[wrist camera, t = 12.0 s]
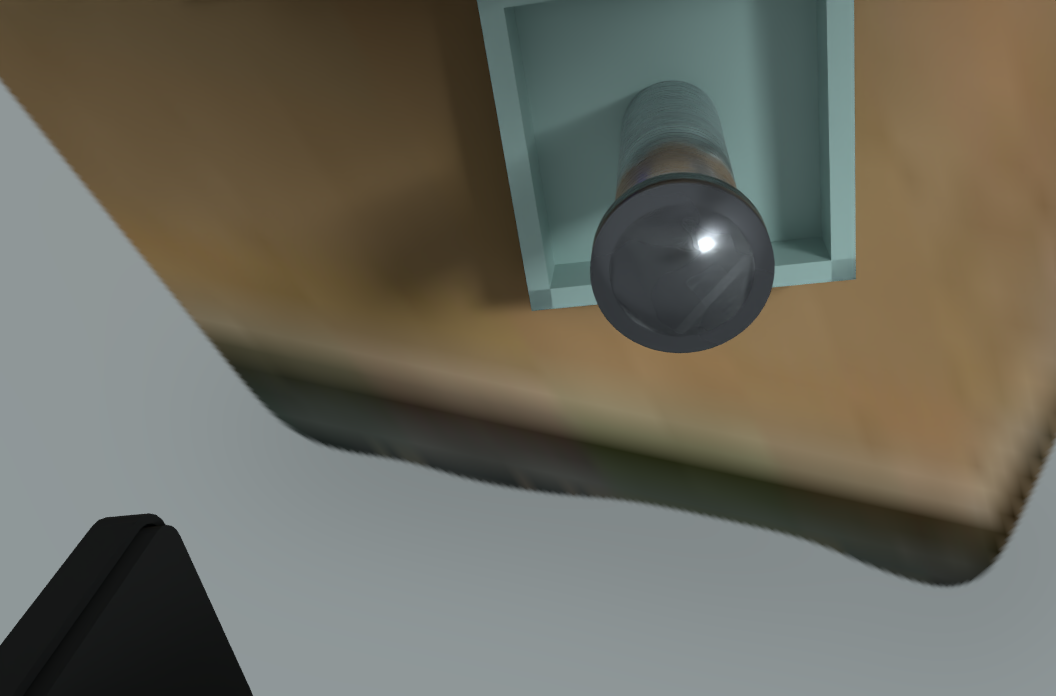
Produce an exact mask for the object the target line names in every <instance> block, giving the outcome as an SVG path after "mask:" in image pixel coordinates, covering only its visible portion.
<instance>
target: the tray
mask: <svg viewBox="0 0 1056 696" xmlns="http://www.w3.org/2000/svg"><path fill="white" fill-rule="evenodd" d="M477 3H478V9H479V15H480V20H481V26H482V32H483V37H484V43H485V49H486V54H487V60H488V66H489V71H490V77H491V83H492V88H493V94H494V100H495V105H496V111H497V117H498V122H499V128H500V134H501V139H502V145H503V151H504V156H505V162H506V168H507V173H508V179H509V185H510V190H511V196H512V202H513V207H514V213H515V219H516V224H517V230H518V236H519V241H520V247H521V253H522V258H523V264H524V270H525V275H526V281H527V287H528V292H529V298H530V304H531V309H532V311H535V310H545V309H555V308H565V307H576V306H586V305H596V304H597V302H596V299H595V297H594V294H593V290H592V286H591V280H590V262H591V254H592V246H593V241H594V237H595V233H596V231H597V228H598V225H599V223H600V221H601V219H602V218H603V216H604V214H605V213H606V211H607V210H608V209H609V207H610V206H611V205H612V204H613V203H614V202H615V196H616V185H617V173H618V162H619V150H620V139H621V127H622V120H623V116H624V114H625V111H626V109H627V107H628V105H629V104H630V102H631V101H632V100H633V99H634V97H635V96H636V95H637V94H638V93H640V92H641V91H642V90H644V89H645V88H647V87H649V86H651V85H653V84H655V83H658V82H663V81H671V80H674V81H683V82H687V83H690V84H692V85H694V86H696V87H698V88H700V89H701V90H702V91H704V92H705V93H706V94H707V95H708V96H709V97H710V99H711V100H712V101H713V103H714V105H715V107H716V109H717V111H718V115H719V118H720V122H721V126H722V130H723V135H724V139H725V143H726V147H727V151H728V155H729V159H730V163H731V167H732V171H733V175H734V179H735V183H736V187H737V189H738V190H739V191H741V192H742V193H743V194H744V195H745V196H746V197H747V198H748V199H749V200H750V201H751V202H752V203H753V204H754V206H755V207H756V208H757V210H758V211H759V213H760V215H761V216H762V218H763V221H764V223H765V225H766V228H767V231H768V234H769V238H770V241H771V245H772V248H773V252H774V260H775V274H774V280H773V285H772V287H780V286H790V285H801V284H811V283H821V282H831V281H842V280H852V279H856V260H855V99H854V0H477Z"/></svg>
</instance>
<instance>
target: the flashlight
mask: <svg viewBox="0 0 1056 696" xmlns="http://www.w3.org/2000/svg"><path fill="white" fill-rule="evenodd" d="M774 274H775V260H774V252H773V248H772V245H771V241H770V238H769V234H768V231H767V228H766V225H765V223H764V221H763V218H762V216H761V215H760V213H759V211H758V210H757V208H756V207H755V206H754V204H753V203H752V202H751V201H750V200H749V199H748V198H747V197H746V196H745V195H744V194H743V193H742V192H741V191H739V190H738V189H737V187H736V183H735V179H734V175H733V171H732V167H731V163H730V159H729V155H728V151H727V147H726V143H725V139H724V135H723V130H722V126H721V122H720V118H719V115H718V111H717V109H716V107H715V105H714V103H713V101H712V100H711V99H710V97H709V96H708V95H707V94H706V93H705V92H704V91H702V90H701V89H700V88H698V87H696V86H694V85H692V84H690V83H687V82H683V81H674V80H671V81H663V82H658V83H655V84H653V85H651V86H649V87H647V88H645V89H644V90H642V91H641V92H640V93H638V94H637V95H636V96H635V97H634V99H633V100H632V101H631V102H630V104H629V105H628V107H627V109H626V111H625V114H624V116H623V120H622V127H621V139H620V150H619V162H618V173H617V185H616V196H615V202H614V203H613V204H612V205H611V206H610V207H609V209H608V210H607V211H606V213H605V214H604V216H603V218H602V219H601V221H600V223H599V225H598V228H597V231H596V233H595V237H594V241H593V246H592V254H591V262H590V280H591V286H592V290H593V294H594V297H595V299H596V302H597V304H598V306H599V308H600V310H601V312H602V313H603V314H604V316H605V317H606V319H607V320H608V321H609V322H610V323H611V324H612V325H613V326H614V328H615V329H617V330H618V331H619V332H620V333H622V334H623V335H624V336H626V337H627V338H629V339H630V340H632V341H634V342H636V343H638V344H640V345H642V346H645V347H648V348H651V349H654V350H658V351H663V352H671V353H690V352H697V351H702V350H706V349H710V348H713V347H715V346H718V345H721V344H723V343H725V342H727V341H729V340H730V339H732V338H734V337H735V336H737V335H738V334H739V333H741V332H742V331H743V330H745V329H746V328H747V327H748V326H749V325H750V324H751V323H752V322H753V321H754V320H755V318H756V317H757V316H758V315H759V313H760V312H761V310H762V309H763V307H764V306H765V303H766V301H767V299H768V297H769V295H770V292H771V289H772V285H773V280H774Z"/></svg>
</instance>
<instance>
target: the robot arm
mask: <svg viewBox="0 0 1056 696" xmlns="http://www.w3.org/2000/svg"><path fill="white" fill-rule="evenodd" d="M0 696H253V695H252V692H251V690H250V688H249V685H248V683H247V681H246V679H245V677H244V675H243V672H242V670H241V668H240V666H239V663H238V661H237V659H236V657H235V655H234V653H233V650H232V648H231V646H230V644H229V642H228V640H227V637H226V635H225V633H224V631H223V628H222V626H221V624H220V622H219V620H218V618H217V615H216V613H215V611H214V609H213V607H212V604H211V602H210V600H209V598H208V596H207V593H206V591H205V589H204V587H203V585H202V583H201V580H200V578H199V576H198V574H197V572H196V569H195V567H194V565H193V563H192V561H191V558H190V556H189V554H188V552H187V550H186V547H185V545H184V543H183V541H182V539H181V536H180V535H179V533H178V531H177V530H176V529H175V528H174V527H172V526H169V525H165V524H164V522H163V520H162V519H161V518H159V517H158V516H157V515H154V514H139V515H128V516H117V517H106V518H104V519H101V520H98V521H97V522H96V523H95V524H94V525H93V526H92V527H91V528H90V530H89V531H88V532H87V534H86V535H85V536H84V538H83V539H82V540H81V541H80V543H79V544H78V545H77V547H76V548H75V549H74V551H73V552H72V553H71V554H70V556H69V557H68V558H67V560H66V561H65V562H64V564H63V565H62V566H61V568H60V569H59V570H58V571H57V573H56V574H55V575H54V577H53V578H52V579H51V580H50V582H49V583H48V584H47V585H46V587H45V588H44V589H43V591H42V592H41V593H40V595H39V596H38V597H37V599H36V600H35V601H34V602H33V604H32V605H31V606H30V607H29V609H28V610H27V611H26V613H25V614H24V615H23V617H22V618H21V619H20V620H19V622H18V623H17V624H16V626H15V627H14V628H13V630H12V631H11V632H10V634H9V635H8V636H7V637H6V639H5V640H4V641H3V643H2V644H1V645H0Z"/></svg>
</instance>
